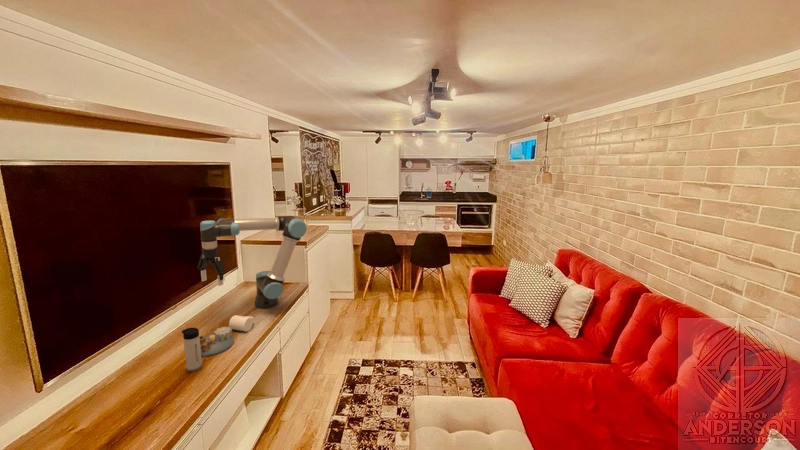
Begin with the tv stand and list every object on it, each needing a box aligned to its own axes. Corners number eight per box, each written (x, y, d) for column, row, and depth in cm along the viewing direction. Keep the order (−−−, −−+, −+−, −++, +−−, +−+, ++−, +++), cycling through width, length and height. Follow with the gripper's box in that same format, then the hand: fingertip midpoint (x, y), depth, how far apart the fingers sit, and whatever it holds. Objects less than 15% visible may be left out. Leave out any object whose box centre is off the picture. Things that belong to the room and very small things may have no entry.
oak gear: (203, 343, 171) (202, 332, 170) (214, 347, 168) (213, 336, 167) (187, 351, 163) (186, 339, 162) (199, 355, 160) (197, 344, 159)
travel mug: (187, 365, 155) (183, 327, 151) (203, 362, 158) (199, 325, 154) (184, 373, 150) (180, 334, 146) (200, 370, 152) (197, 331, 148)
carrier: (217, 331, 185) (216, 321, 184) (243, 340, 178) (242, 330, 177) (181, 350, 166) (180, 339, 165) (208, 360, 159) (207, 349, 158)
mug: (244, 334, 184) (243, 321, 182) (229, 331, 186) (228, 319, 184) (257, 324, 195) (256, 312, 194) (243, 321, 197) (242, 309, 196)
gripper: (188, 246, 184) (191, 281, 188) (219, 252, 175) (222, 289, 179) (200, 243, 191) (203, 277, 195) (231, 249, 181) (233, 284, 186)
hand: (212, 282), depth 187 cm, fingers open, 13 cm apart
